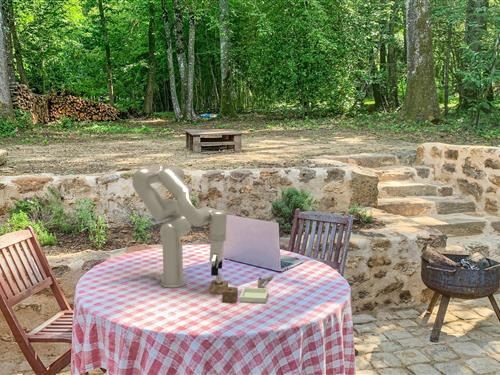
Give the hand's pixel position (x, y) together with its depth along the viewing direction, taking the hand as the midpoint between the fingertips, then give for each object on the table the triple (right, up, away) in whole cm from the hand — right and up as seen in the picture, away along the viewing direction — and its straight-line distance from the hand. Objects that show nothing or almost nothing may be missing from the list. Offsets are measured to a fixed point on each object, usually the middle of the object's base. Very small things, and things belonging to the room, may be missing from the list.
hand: (216, 271), depth 232 cm
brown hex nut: (+1, -9, +1) cm, 9 cm away
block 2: (+7, -11, -10) cm, 16 cm away
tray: (+18, -11, -7) cm, 22 cm away
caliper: (+24, -8, +11) cm, 27 cm away
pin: (+1, -9, +1) cm, 9 cm away
